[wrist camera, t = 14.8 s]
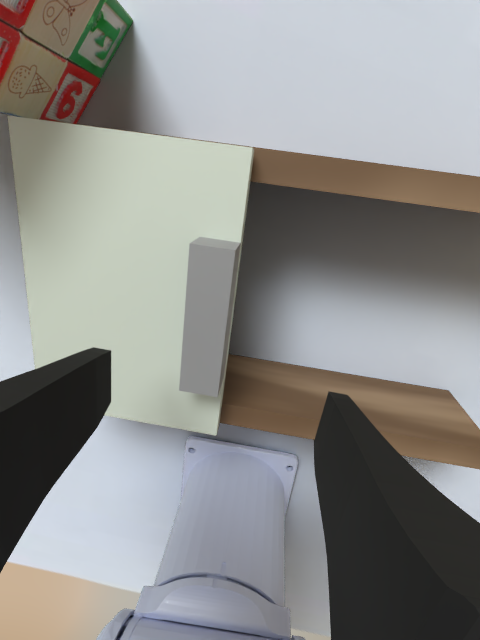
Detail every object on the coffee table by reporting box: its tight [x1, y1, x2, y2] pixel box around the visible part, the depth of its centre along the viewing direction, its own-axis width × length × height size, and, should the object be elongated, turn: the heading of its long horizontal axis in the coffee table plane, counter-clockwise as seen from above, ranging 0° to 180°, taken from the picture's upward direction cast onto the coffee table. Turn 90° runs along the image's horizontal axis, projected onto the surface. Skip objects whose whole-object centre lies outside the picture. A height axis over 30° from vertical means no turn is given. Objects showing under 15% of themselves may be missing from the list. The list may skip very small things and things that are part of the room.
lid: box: [7, 115, 254, 436], centre depth 14 cm, size 13×9×2 cm
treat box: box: [39, 119, 480, 469], centre depth 18 cm, size 13×22×5 cm, turn 83°
